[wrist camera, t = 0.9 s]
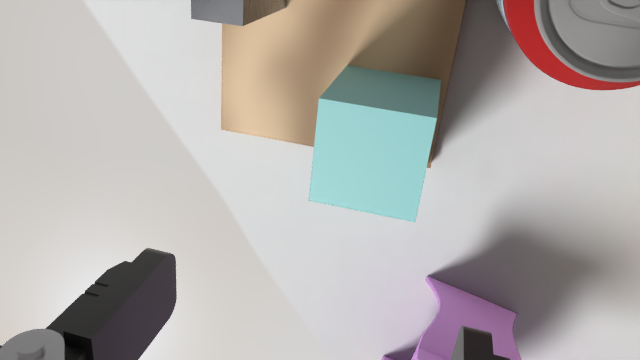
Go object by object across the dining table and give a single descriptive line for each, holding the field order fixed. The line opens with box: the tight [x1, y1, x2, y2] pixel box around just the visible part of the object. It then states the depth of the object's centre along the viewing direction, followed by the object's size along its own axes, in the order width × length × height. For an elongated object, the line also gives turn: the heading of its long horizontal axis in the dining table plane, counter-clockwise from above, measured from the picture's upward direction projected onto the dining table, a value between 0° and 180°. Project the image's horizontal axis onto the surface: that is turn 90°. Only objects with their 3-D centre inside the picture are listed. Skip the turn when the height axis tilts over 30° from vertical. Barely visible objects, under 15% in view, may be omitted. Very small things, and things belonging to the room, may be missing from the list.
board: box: [221, 0, 466, 168], centre depth 29 cm, size 13×12×1 cm
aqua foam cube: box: [309, 65, 441, 222], centre depth 26 cm, size 5×5×7 cm
